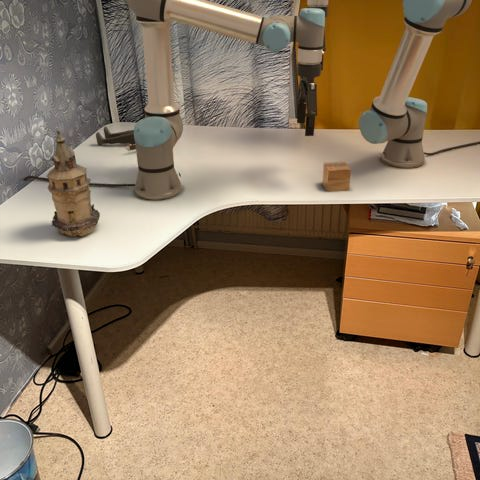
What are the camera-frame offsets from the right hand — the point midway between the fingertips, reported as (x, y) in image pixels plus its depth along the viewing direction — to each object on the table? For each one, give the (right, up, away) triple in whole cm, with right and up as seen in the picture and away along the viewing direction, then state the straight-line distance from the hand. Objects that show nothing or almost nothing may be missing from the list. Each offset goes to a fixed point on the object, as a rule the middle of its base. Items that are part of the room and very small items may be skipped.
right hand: (314, 66), depth 203 cm
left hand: (-7, -29, -26) cm, 40 cm away
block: (+4, -48, -24) cm, 54 cm away
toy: (-71, -27, +16) cm, 77 cm away
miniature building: (-75, -63, -48) cm, 109 cm away
